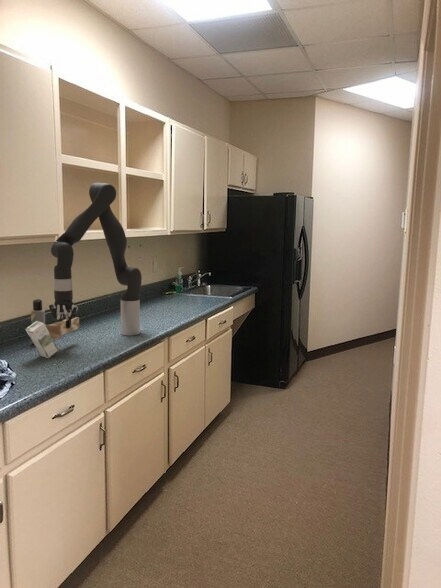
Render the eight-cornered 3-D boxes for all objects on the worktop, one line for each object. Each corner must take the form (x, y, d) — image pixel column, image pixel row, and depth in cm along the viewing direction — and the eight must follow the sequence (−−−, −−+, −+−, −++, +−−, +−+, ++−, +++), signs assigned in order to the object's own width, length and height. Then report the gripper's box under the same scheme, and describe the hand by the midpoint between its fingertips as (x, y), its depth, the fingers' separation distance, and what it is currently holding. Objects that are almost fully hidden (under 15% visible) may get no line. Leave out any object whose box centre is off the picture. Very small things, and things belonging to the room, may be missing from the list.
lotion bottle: (47, 341, 210) (45, 298, 207) (43, 344, 205) (41, 301, 201) (35, 341, 210) (33, 298, 207) (30, 344, 205) (28, 301, 201)
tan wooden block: (68, 327, 208) (68, 316, 208) (84, 328, 207) (83, 317, 206) (41, 336, 190) (41, 325, 189) (58, 338, 188) (58, 326, 187)
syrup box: (51, 347, 193) (35, 320, 185) (59, 350, 189) (43, 322, 182) (40, 356, 189) (24, 328, 182) (48, 359, 185) (32, 331, 178)
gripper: (82, 288, 198) (83, 327, 200) (54, 286, 201) (55, 324, 204) (73, 291, 190) (74, 331, 193) (43, 289, 194) (45, 328, 197)
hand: (64, 327), depth 198 cm, fingers closed on tan wooden block, 3 cm apart
